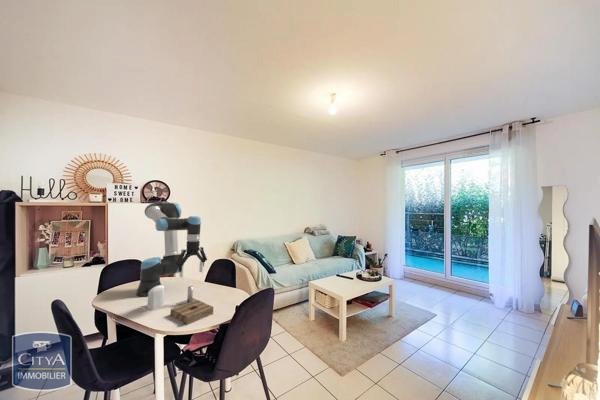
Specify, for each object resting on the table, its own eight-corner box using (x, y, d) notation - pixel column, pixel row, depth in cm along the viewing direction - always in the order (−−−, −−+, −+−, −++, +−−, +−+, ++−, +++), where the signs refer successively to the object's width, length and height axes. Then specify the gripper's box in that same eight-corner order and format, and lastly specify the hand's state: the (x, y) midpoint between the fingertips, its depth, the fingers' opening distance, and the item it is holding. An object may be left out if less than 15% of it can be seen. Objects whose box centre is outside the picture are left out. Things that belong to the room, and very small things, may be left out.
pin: (186, 303, 148) (186, 287, 148) (190, 301, 150) (191, 285, 150) (188, 304, 146) (189, 288, 146) (193, 302, 149) (194, 286, 149)
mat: (175, 304, 146) (175, 303, 146) (192, 298, 156) (192, 297, 156) (186, 309, 140) (186, 308, 140) (203, 303, 150) (203, 302, 150)
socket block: (170, 316, 131) (170, 308, 131) (196, 306, 144) (196, 300, 144) (187, 324, 122) (187, 317, 122) (213, 313, 136) (213, 306, 136)
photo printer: (152, 311, 136) (153, 289, 136) (145, 310, 137) (147, 289, 137) (164, 304, 146) (166, 284, 147) (158, 303, 147) (159, 283, 147)
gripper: (177, 243, 137) (175, 280, 136) (213, 239, 158) (212, 271, 157) (170, 242, 141) (168, 277, 140) (206, 238, 162) (204, 269, 161)
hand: (191, 274), depth 149 cm, fingers open, 13 cm apart
